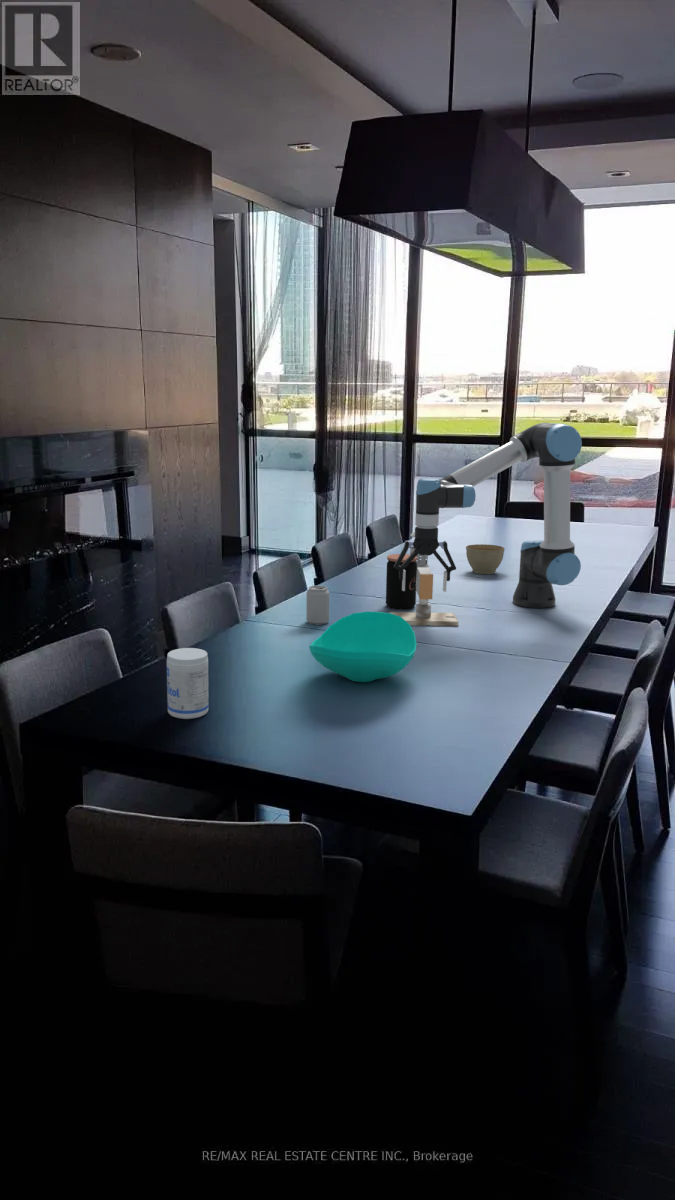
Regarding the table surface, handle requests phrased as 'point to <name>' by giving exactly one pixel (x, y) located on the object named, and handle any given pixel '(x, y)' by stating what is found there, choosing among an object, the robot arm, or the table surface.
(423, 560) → the french press
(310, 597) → the can
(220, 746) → the table surface
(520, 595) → the robot arm
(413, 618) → the lock board
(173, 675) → the supplement tub
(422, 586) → the orange-capped white bar
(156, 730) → the table surface
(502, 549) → the planter bowl
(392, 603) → the coffee jar
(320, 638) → the table top decor
